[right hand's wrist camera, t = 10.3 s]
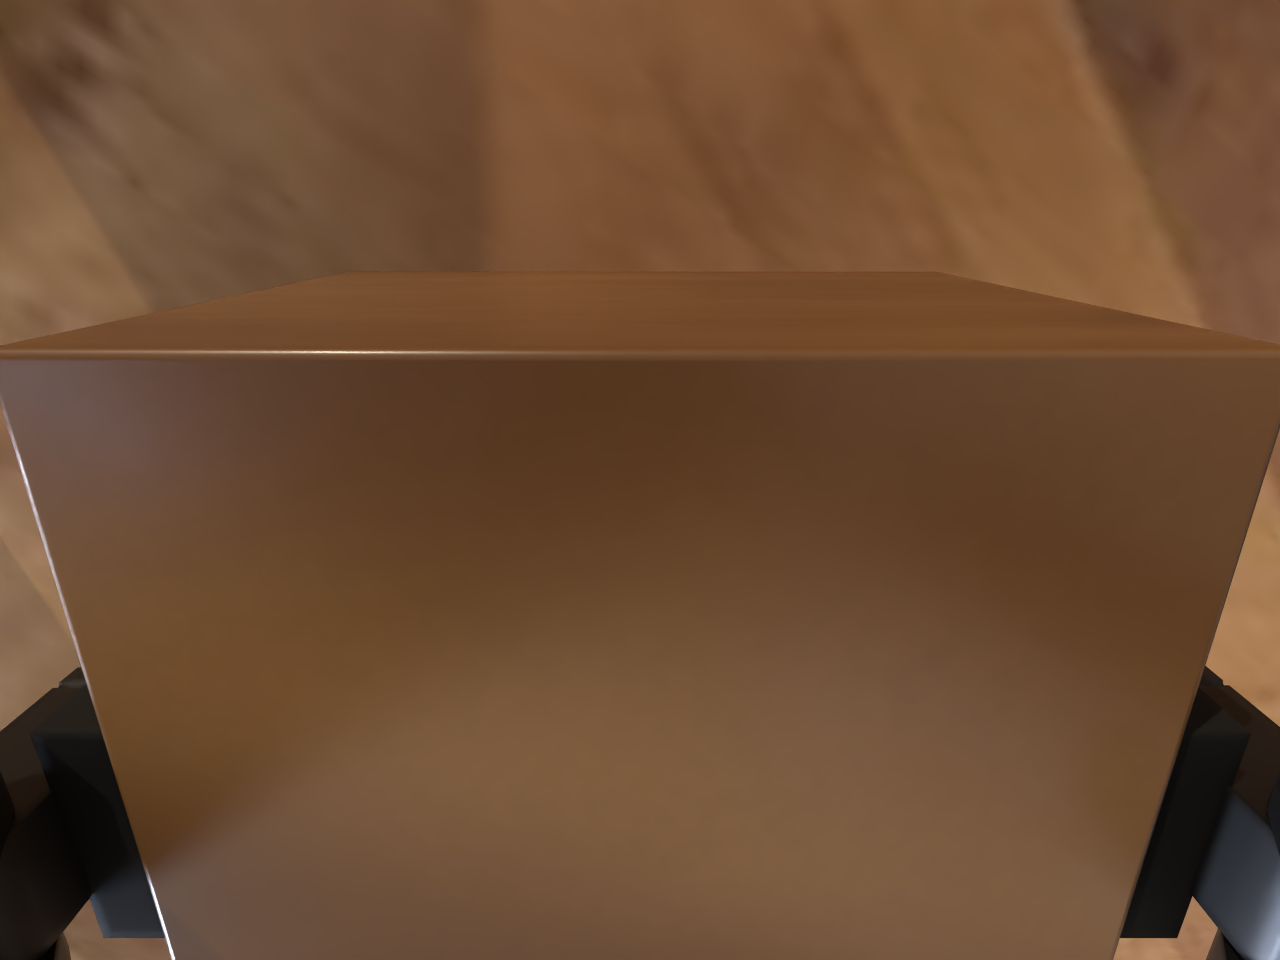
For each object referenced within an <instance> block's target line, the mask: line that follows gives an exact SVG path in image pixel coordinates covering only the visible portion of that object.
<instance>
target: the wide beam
mask: <svg viewBox="0 0 1280 960" xmlns="http://www.w3.org/2000/svg"><path fill="white" fill-rule="evenodd" d="M0 406H1V409H2V412H3V415H4V419H5V422H6V425H7V428H8V432H9V435H10V438H11V441H12V444H13V448H14V451H15V454H16V457H17V461H18V464H19V467H20V470H21V473H22V477H23V480H24V483H25V486H26V490H27V493H28V496H29V499H30V502H31V506H32V509H33V512H34V515H35V519H36V522H37V525H38V528H39V532H40V535H41V538H42V541H43V544H44V548H45V551H46V554H47V557H48V561H49V564H50V567H51V570H52V573H53V577H54V580H55V583H56V586H57V590H58V593H59V596H60V599H61V603H62V606H63V609H64V612H65V615H66V619H67V622H68V625H69V628H70V632H71V635H72V638H73V641H74V644H75V648H76V651H77V654H78V657H79V661H80V664H81V667H82V670H83V674H84V677H85V680H86V683H87V686H88V690H89V693H90V696H91V699H92V703H93V706H94V709H95V712H96V715H97V719H98V722H99V725H100V728H101V732H102V735H103V738H104V741H105V745H106V748H107V751H108V754H109V757H110V761H111V764H112V767H113V770H114V774H115V777H116V780H117V783H118V786H119V790H120V793H121V796H122V799H123V803H124V806H125V809H126V812H127V815H128V819H129V822H130V825H131V828H132V832H133V835H134V838H135V841H136V845H137V848H138V851H139V854H140V857H141V861H142V864H143V867H144V870H145V874H146V877H147V880H148V883H149V886H150V890H151V893H152V896H153V899H154V903H155V906H156V909H157V912H158V916H159V919H160V922H161V925H162V928H163V932H164V935H165V938H166V941H167V945H168V948H169V951H170V954H171V957H172V960H1113V958H1114V955H1115V951H1116V948H1117V945H1118V942H1119V939H1120V935H1121V932H1122V929H1123V926H1124V923H1125V920H1126V916H1127V913H1128V910H1129V907H1130V904H1131V900H1132V897H1133V894H1134V891H1135V888H1136V884H1137V881H1138V878H1139V875H1140V872H1141V869H1142V865H1143V862H1144V859H1145V856H1146V853H1147V849H1148V846H1149V843H1150V840H1151V837H1152V833H1153V830H1154V827H1155V824H1156V821H1157V818H1158V814H1159V811H1160V808H1161V805H1162V802H1163V798H1164V795H1165V792H1166V789H1167V786H1168V782H1169V779H1170V776H1171V773H1172V770H1173V767H1174V763H1175V760H1176V757H1177V754H1178V751H1179V747H1180V744H1181V741H1182V738H1183V735H1184V731H1185V728H1186V725H1187V722H1188V719H1189V716H1190V712H1191V709H1192V706H1193V703H1194V700H1195V696H1196V693H1197V690H1198V687H1199V684H1200V680H1201V677H1202V674H1203V671H1204V668H1205V665H1206V661H1207V658H1208V655H1209V652H1210V649H1211V645H1212V642H1213V639H1214V636H1215V633H1216V629H1217V626H1218V623H1219V620H1220V617H1221V614H1222V610H1223V607H1224V604H1225V601H1226V598H1227V594H1228V591H1229V588H1230V585H1231V582H1232V578H1233V575H1234V572H1235V569H1236V566H1237V563H1238V559H1239V556H1240V553H1241V550H1242V547H1243V543H1244V540H1245V537H1246V534H1247V531H1248V527H1249V524H1250V521H1251V518H1252V515H1253V511H1254V508H1255V505H1256V502H1257V499H1258V496H1259V492H1260V489H1261V486H1262V483H1263V480H1264V476H1265V473H1266V470H1267V467H1268V464H1269V460H1270V457H1271V454H1272V451H1273V448H1274V445H1275V441H1276V438H1277V435H1278V432H1279V429H1280V345H1277V344H1273V343H1268V342H1263V341H1259V340H1254V339H1249V338H1244V337H1240V336H1235V335H1230V334H1226V333H1221V332H1216V331H1212V330H1207V329H1202V328H1198V327H1193V326H1188V325H1183V324H1179V323H1174V322H1169V321H1165V320H1160V319H1155V318H1151V317H1146V316H1141V315H1137V314H1132V313H1127V312H1122V311H1118V310H1113V309H1108V308H1104V307H1099V306H1094V305H1090V304H1085V303H1080V302H1076V301H1071V300H1066V299H1061V298H1057V297H1052V296H1047V295H1043V294H1038V293H1033V292H1029V291H1024V290H1019V289H1015V288H1010V287H1005V286H1000V285H996V284H991V283H986V282H982V281H977V280H972V279H968V278H963V277H958V276H954V275H949V274H944V273H939V272H344V273H340V274H335V275H330V276H325V277H321V278H316V279H311V280H307V281H302V282H297V283H293V284H288V285H283V286H279V287H274V288H269V289H264V290H260V291H255V292H250V293H246V294H241V295H236V296H232V297H227V298H222V299H217V300H213V301H208V302H203V303H199V304H194V305H189V306H185V307H180V308H175V309H170V310H166V311H161V312H156V313H152V314H147V315H142V316H138V317H133V318H128V319H124V320H119V321H114V322H109V323H105V324H100V325H95V326H91V327H86V328H81V329H77V330H72V331H67V332H62V333H58V334H53V335H48V336H44V337H39V338H34V339H30V340H25V341H20V342H16V343H11V344H6V345H1V346H0Z"/></svg>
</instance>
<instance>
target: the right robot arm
mask: <svg viewBox="0 0 1280 960" xmlns="http://www.w3.org/2000/svg"><path fill="white" fill-rule="evenodd" d="M1192 896H1193V897H1194V898H1195V899H1196V901H1197V902H1198V903H1199V904H1200V906H1201V907H1202V908H1203V909H1204V911H1205V912H1206V913H1207V914H1208V916H1209V917H1210V918H1211V919H1212V921H1213V922H1214V923H1215V925H1216V926H1217V927H1218V930H1217V933H1216V935H1215V938H1214V940H1213V943H1212V945H1211V948H1210V951H1209V953H1208V956H1207V958H1206V960H1280V727H1279V726H1278V725H1277V724H1275V723H1274V722H1273V721H1272V720H1271V719H1269V718H1268V717H1267V716H1266V715H1264V714H1263V713H1262V712H1261V711H1260V710H1258V709H1257V708H1256V707H1255V706H1254V705H1252V704H1251V703H1250V702H1249V701H1247V700H1246V699H1245V698H1244V697H1243V696H1241V695H1240V694H1239V693H1238V692H1236V691H1235V690H1234V689H1233V688H1232V687H1230V686H1229V685H1223V680H1222V679H1221V678H1219V677H1218V676H1217V675H1216V674H1215V673H1213V672H1212V671H1211V670H1210V669H1209V668H1207V667H1206V666H1205V668H1204V671H1203V674H1202V677H1201V680H1200V684H1199V687H1198V690H1197V693H1196V696H1195V700H1194V703H1193V706H1192V709H1191V712H1190V716H1189V719H1188V722H1187V725H1186V728H1185V731H1184V735H1183V738H1182V741H1181V744H1180V747H1179V751H1178V754H1177V757H1176V760H1175V763H1174V767H1173V770H1172V773H1171V776H1170V779H1169V782H1168V786H1167V789H1166V792H1165V795H1164V798H1163V802H1162V805H1161V808H1160V811H1159V814H1158V818H1157V821H1156V824H1155V827H1154V830H1153V833H1152V837H1151V840H1150V843H1149V846H1148V849H1147V853H1146V856H1145V859H1144V862H1143V865H1142V869H1141V872H1140V875H1139V878H1138V881H1137V884H1136V888H1135V891H1134V894H1133V897H1132V900H1131V904H1130V907H1129V910H1128V913H1127V916H1126V920H1125V923H1124V926H1123V929H1122V932H1121V935H1120V938H1177V937H1178V934H1179V931H1180V929H1181V926H1182V923H1183V920H1184V918H1185V915H1186V912H1187V909H1188V907H1189V904H1190V901H1191V898H1192ZM88 899H90V901H91V904H92V907H93V910H94V912H95V915H96V918H97V921H98V923H99V926H100V929H101V932H102V934H103V937H104V938H165V935H164V932H163V928H162V925H161V922H160V919H159V916H158V912H157V909H156V906H155V903H154V899H153V896H152V893H151V890H150V886H149V883H148V880H147V877H146V874H145V870H144V867H143V864H142V861H141V857H140V854H139V851H138V848H137V845H136V841H135V838H134V835H133V832H132V828H131V825H130V822H129V819H128V815H127V812H126V809H125V806H124V803H123V799H122V796H121V793H120V790H119V786H118V783H117V780H116V777H115V774H114V770H113V767H112V764H111V761H110V757H109V754H108V751H107V748H106V745H105V741H104V738H103V735H102V732H101V728H100V725H99V722H98V719H97V715H96V712H95V709H94V706H93V703H92V699H91V696H90V693H89V690H88V686H87V683H86V680H85V677H84V674H83V670H82V668H76V669H75V670H74V671H73V672H72V673H70V674H69V675H68V676H67V677H66V678H64V679H63V680H62V681H61V682H60V683H59V687H58V688H52V689H51V690H50V691H49V692H48V693H46V694H45V695H44V696H43V697H41V698H40V699H39V700H38V701H37V702H35V703H34V704H33V705H32V706H31V707H29V708H28V709H27V710H26V711H25V712H23V713H22V714H21V715H20V716H19V717H17V718H16V719H15V720H14V721H13V722H11V723H10V724H9V725H8V726H7V727H5V728H4V729H3V730H2V731H0V960H71V957H70V951H69V945H68V943H67V940H66V938H65V935H64V933H63V931H64V930H65V929H66V927H67V926H68V925H69V923H70V922H71V921H72V920H73V918H74V917H75V916H76V915H77V913H78V912H79V911H80V910H81V908H82V907H83V906H84V904H85V903H86V902H87V901H88Z"/></svg>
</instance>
